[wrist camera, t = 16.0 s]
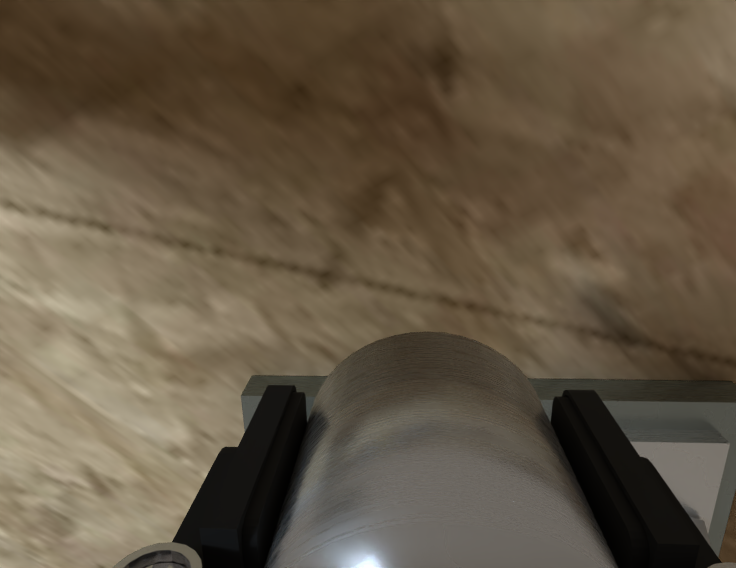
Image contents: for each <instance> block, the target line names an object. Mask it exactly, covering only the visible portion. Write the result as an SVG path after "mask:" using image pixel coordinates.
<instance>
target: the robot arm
mask: <svg viewBox="0 0 736 568" xmlns="http://www.w3.org/2000/svg"><path fill="white" fill-rule="evenodd" d="M550 423H551V425H552V427H553V429H554V431H555V433H556V436H557V438H558V440H559V442H560V444H561V446H562V448H563V450H564V453H565V455H566V457H567V459H568V461H569V463H570V465H571V467H572V470H573V472H574V474H575V476H576V478H577V480H578V482H579V484H580V487H581V489H582V491H583V493H584V495H585V497H586V499H587V502H588V504H589V506H590V508H591V510H592V512H593V514H594V516H595V519H596V521H597V523H598V525H599V527H600V529H601V531H602V533H603V536H604V538H605V540H606V542H607V544H608V546H609V548H610V550H611V553H612V555H613V557H614V559H615V561H616V563H617V565H618V568H736V563H731V562H725V563H722V562H721V561H720V559H719V558H718V556H717V555H716V554H715V552H714V551H713V549H712V548H711V546H710V545H709V544H708V542H707V541H706V539H705V538H704V536H703V535H702V534H701V532H700V531H699V529H698V528H697V526H696V525H695V524H694V522H693V521H692V519H691V518H690V517H689V515H688V514H687V512H686V511H685V509H684V508H683V507H682V505H681V504H680V502H679V501H678V499H677V498H676V497H675V495H674V494H673V492H672V491H671V489H670V488H669V487H668V485H667V484H666V482H665V481H664V479H663V478H662V477H661V475H660V474H659V472H658V471H657V469H656V468H655V467H654V465H653V464H652V463H651V462H650V461H649V459H647V458H645V457H640V456H639V454H638V453H637V451H636V450H635V448H634V447H633V446H632V444H631V443H630V441H629V440H628V438H627V437H626V435H625V434H624V432H623V431H622V429H621V428H620V426H619V425H618V423H617V422H616V420H615V419H614V418H613V416H612V415H611V413H610V412H609V410H608V409H607V407H606V406H605V404H604V403H603V401H602V400H601V398H600V397H599V395H598V394H597V393H596V392H595V391H594V390H564V391H563V394H562V397H554V399H553V404H552V413H551V422H550ZM306 425H307V411H306V397H305V393H304V392H297V390H296V387H295V385H268V386H267V388H266V390H265V392H264V394H263V396H262V398H261V400H260V402H259V404H258V406H257V408H256V411H255V413H254V415H253V417H252V419H251V421H250V423H249V425H248V427H247V429H246V431H245V433H244V435H243V438H242V440H241V442H240V444H239V446H238V447H224V448H222V450H221V451H220V452H219V454H218V456H217V458H216V460H215V462H214V464H213V465H212V467H211V469H210V471H209V473H208V475H207V477H206V479H205V481H204V483H203V484H202V486H201V488H200V490H199V492H198V494H197V496H196V498H195V500H194V501H193V503H192V505H191V507H190V509H189V511H188V513H187V515H186V517H185V519H184V520H183V522H182V524H181V526H180V528H179V530H178V532H177V534H176V536H175V537H174V539H173V541H172V542H168V543H157V544H153V545H150V546H146V547H143V548H141V549H139V550H137V551H135V552H133V553H131V554H129V555H127V556H126V557H125V558H124V559H122V560H121V561H120V562H118V563H117V564H116V565H114V567H113V568H264V565H265V562H266V559H267V555H268V552H269V549H270V545H271V542H272V539H273V535H274V532H275V529H276V525H277V522H278V519H279V515H280V512H281V509H282V505H283V502H284V499H285V495H286V492H287V489H288V485H289V482H290V479H291V475H292V472H293V469H294V465H295V462H296V459H297V455H298V452H299V449H300V445H301V442H302V439H303V435H304V432H305V429H306Z"/></svg>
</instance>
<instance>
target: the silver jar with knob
mask: <svg viewBox="0 0 736 568" xmlns="http://www.w3.org/2000/svg"><path fill="white" fill-rule="evenodd" d="M264 568H618V565H617V563H616V561H615V559H614V557H613V555H612V553H611V550H610V548H609V546H608V544H607V542H606V540H605V538H604V536H603V533H602V531H601V529H600V527H599V525H598V523H597V521H596V519H595V516H594V514H593V512H592V510H591V508H590V506H589V504H588V502H587V499H586V497H585V495H584V493H583V491H582V489H581V487H580V484H579V482H578V480H577V478H576V476H575V474H574V472H573V470H572V467H571V465H570V463H569V461H568V459H567V457H566V455H565V453H564V450H563V448H562V446H561V444H560V442H559V440H558V438H557V436H556V433H555V431H554V429H553V427H552V425H551V423H550V421H549V419H548V416H547V414H546V412H545V410H544V408H543V406H542V404H541V401H540V399H539V397H538V395H537V393H536V391H535V389H534V388H533V386H532V385H531V383H530V382H529V380H528V379H527V377H526V376H525V375H524V374H523V373H522V372H521V370H520V369H519V368H518V367H517V366H516V365H515V364H513V363H512V362H511V361H510V360H509V359H507V358H506V357H505V356H504V355H502V354H500V353H499V352H497V351H496V350H494V349H492V348H491V347H489V346H486V345H484V344H482V343H480V342H478V341H475V340H472V339H469V338H466V337H463V336H459V335H454V334H448V333H441V332H411V333H405V334H399V335H394V336H391V337H387V338H384V339H381V340H378V341H376V342H374V343H371V344H369V345H367V346H365V347H363V348H361V349H360V350H358V351H356V352H355V353H353V354H351V355H350V356H349V357H348V358H346V359H345V360H344V361H343V362H341V363H340V364H339V365H338V366H337V367H336V368H335V369H334V370H333V371H332V372H331V373H330V375H329V376H328V377H327V379H326V380H325V382H324V383H323V384H322V386H321V388H320V390H319V392H318V394H317V396H316V397H315V400H314V403H313V406H312V409H311V412H310V415H309V419H308V422H307V425H306V429H305V432H304V435H303V439H302V442H301V445H300V449H299V452H298V455H297V459H296V462H295V465H294V469H293V472H292V475H291V479H290V482H289V485H288V489H287V492H286V495H285V499H284V502H283V505H282V509H281V512H280V515H279V519H278V522H277V525H276V529H275V532H274V535H273V539H272V542H271V545H270V549H269V552H268V555H267V559H266V562H265V565H264Z"/></svg>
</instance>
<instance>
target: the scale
mask: <svg viewBox="0 0 736 568" xmlns="http://www.w3.org/2000/svg"><path fill="white" fill-rule="evenodd" d="M327 377H328V376H251V378H250V380H249V382H248V384H247V386H246V387H245V389H244V391H243V393H242V395H241V401H242V410H243V419H244V428H245V431H246V429H247V427H248V425H249V423H250V421H251V419H252V417H253V415H254V413H255V411H256V408H257V406H258V404H259V402H260V400H261V398H262V396H263V394H264V392H265V390H266V388H267V386H268V385H295V387H296V390H297V392H304V393H305V397H306V411H307V422H308V419H309V415H310V412H311V409H312V406H313V403H314V400H315V397H316V396H317V394H318V392H319V390H320V388H321V386H322V384H323V383H324V382H325V380H326V379H327ZM528 380H529V382H530V383H531V385H532V386H533V388H534V389H535V391H536V393H537V395H538V397H539V399H540V401H541V404H542V406H543V408H544V410H545V412H546V414H547V416H548V419H549V421H550V422H551V413H552V404H553V399H554V397H562V394H563V391H564V390H594V391H595V392H596V393H597V394H598V395H599V397H600V398H601V400H602V401H603V403H604V404H605V406H606V407H607V409H608V410H609V412H610V413H611V415H612V416H613V418H614V419H615V420H616V422H617V423H618V425H619V426H620V428H621V429H622V431H623V432H624V434H625V435H626V437H627V438H628V440H629V441H630V443H631V444H632V446H633V447H634V448H635V450H636V451H637V453H638V454H639V456H640V457H645V458H647V459H649V461H650V462H651V463H652V464H653V465H654V467H655V468H656V469H657V471H658V472H659V474H660V475H661V477H662V478H663V479H664V481H665V482H666V484H667V485H668V487H669V488H670V489H671V491H672V492H673V494H674V495H675V497H676V498H677V499H678V501H679V502H680V504H681V505H682V507H683V508H684V509H685V511H686V512H687V514H688V515H689V517H692V518H696V519H700V520H703V521H704V522H705V525H706V529H707V533H708V537H709V540H710V544H711V548H712V549H713V551H714V552H715V554H716V555H717V556H718V557H719V553H720V549H721V545H722V541H723V537H724V533H725V529H726V525H727V522H728V518H729V514H730V510H731V506H732V502H733V498H734V494H735V490H736V384H734V383H733V382H732V381H676V380H590V379H528Z"/></svg>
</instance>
